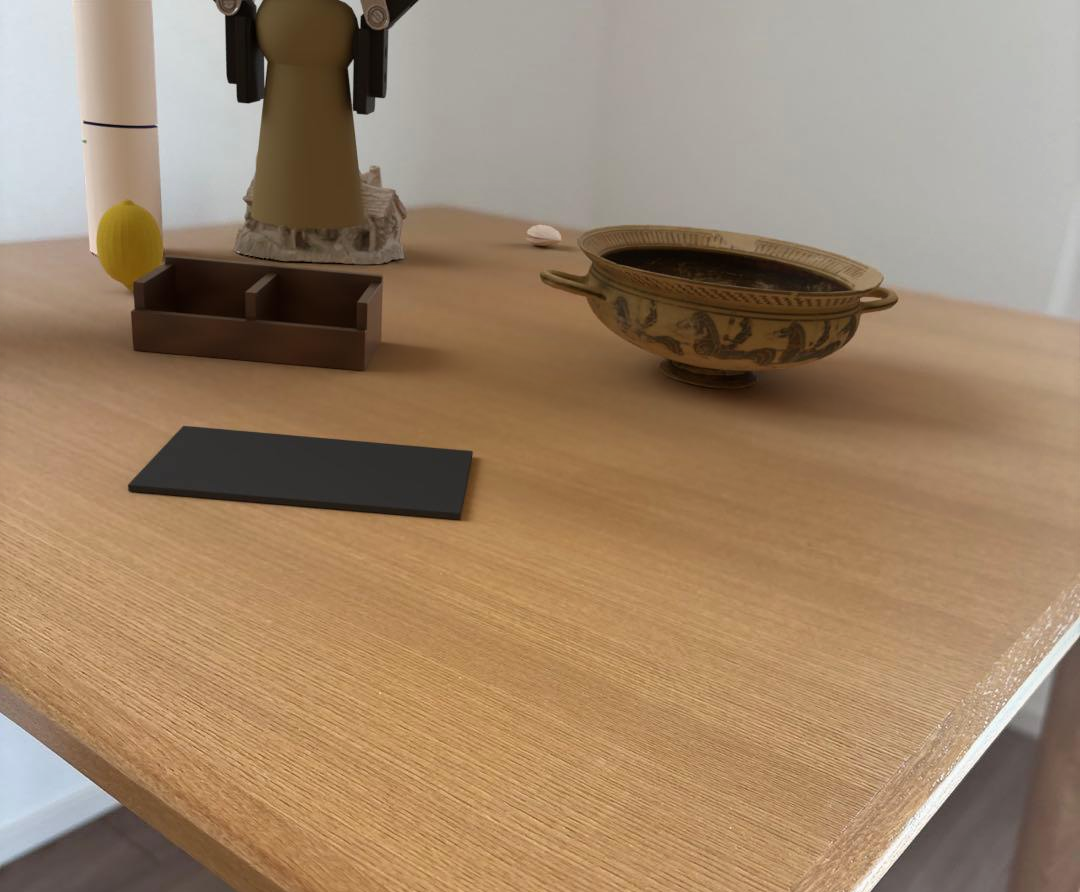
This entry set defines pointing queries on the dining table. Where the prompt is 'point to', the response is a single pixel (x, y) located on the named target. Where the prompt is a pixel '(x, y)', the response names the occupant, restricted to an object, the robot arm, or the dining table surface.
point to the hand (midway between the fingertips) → (307, 103)
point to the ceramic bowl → (722, 299)
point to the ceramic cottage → (332, 231)
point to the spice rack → (258, 312)
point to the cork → (307, 117)
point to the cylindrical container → (117, 106)
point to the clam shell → (543, 235)
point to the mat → (309, 472)
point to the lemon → (128, 243)
